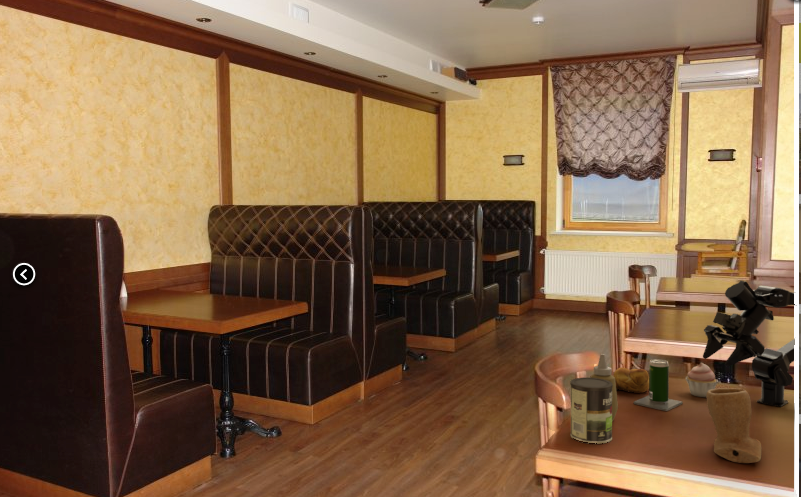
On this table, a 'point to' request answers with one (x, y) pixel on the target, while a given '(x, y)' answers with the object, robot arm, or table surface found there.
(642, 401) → the coaster
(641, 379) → the bread roll
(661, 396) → the guarana soda can
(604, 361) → the squeeze bottle
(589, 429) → the coffee can
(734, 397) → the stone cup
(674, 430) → the table surface
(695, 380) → the cupcake
